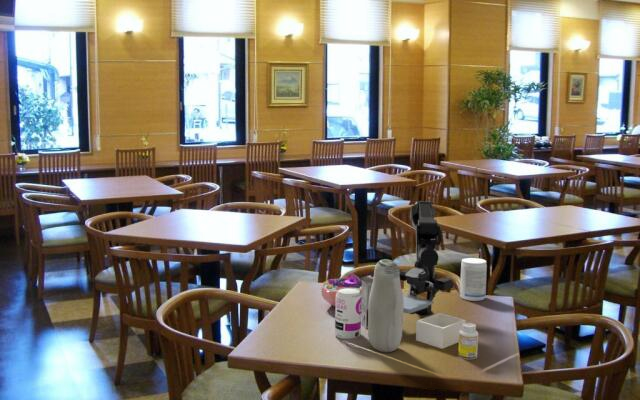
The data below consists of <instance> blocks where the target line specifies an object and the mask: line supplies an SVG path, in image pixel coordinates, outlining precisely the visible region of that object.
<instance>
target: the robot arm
mask: <svg viewBox="0 0 640 400" xmlns="http://www.w3.org/2000/svg"><path fill="white" fill-rule="evenodd" d="M409 213H410V214H409V219H410V221H411V226H412V227H413V229H414V231H415V245H416V246H415V251H416V255H415V259H416V260H415V262H414V267H413V268H411V269H410V268H409V269H405V270H401V271H399V276H400V281H404V282H406V284H408V285H409V286H408V290H409V291H408V295H412V296H415V297H417V295H418V294H421V293H424V292H427V300H430V301H433V299H434V298H435V297H436V295H437V293H438V292H439V291H441V292H444V291H447V290H450V289H451V290H452V289H453V288H454V281H453V280H452V279H450V278H447V277H440V278H437V276H438V275H437V273H435V271H436V268H435V267H436V266H438V262H439V254H438V251H437V250H436V248H437V247H436V246H437V245H438V246H440V245H441V243H442V239H443V237H442V236H443V235H442V234H443V233H442V228H441V226H440V225H439V224H438V220H437V219H435V206H433V204H432V202H431V201H429V200H428V201H424V200H423V201H422V200H419V201H416V203H415V204H414V205H411V207H410V212H409ZM432 305H433V304H431V305H428V307H427V308H424V309H421V310H418V311H416V312H413V313H411V314H413V315H414V314H416V315H418V316H419V315H420V316H425V315H426V316H429V315H432V314H433V313H434V312H433V310H432Z"/></svg>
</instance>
